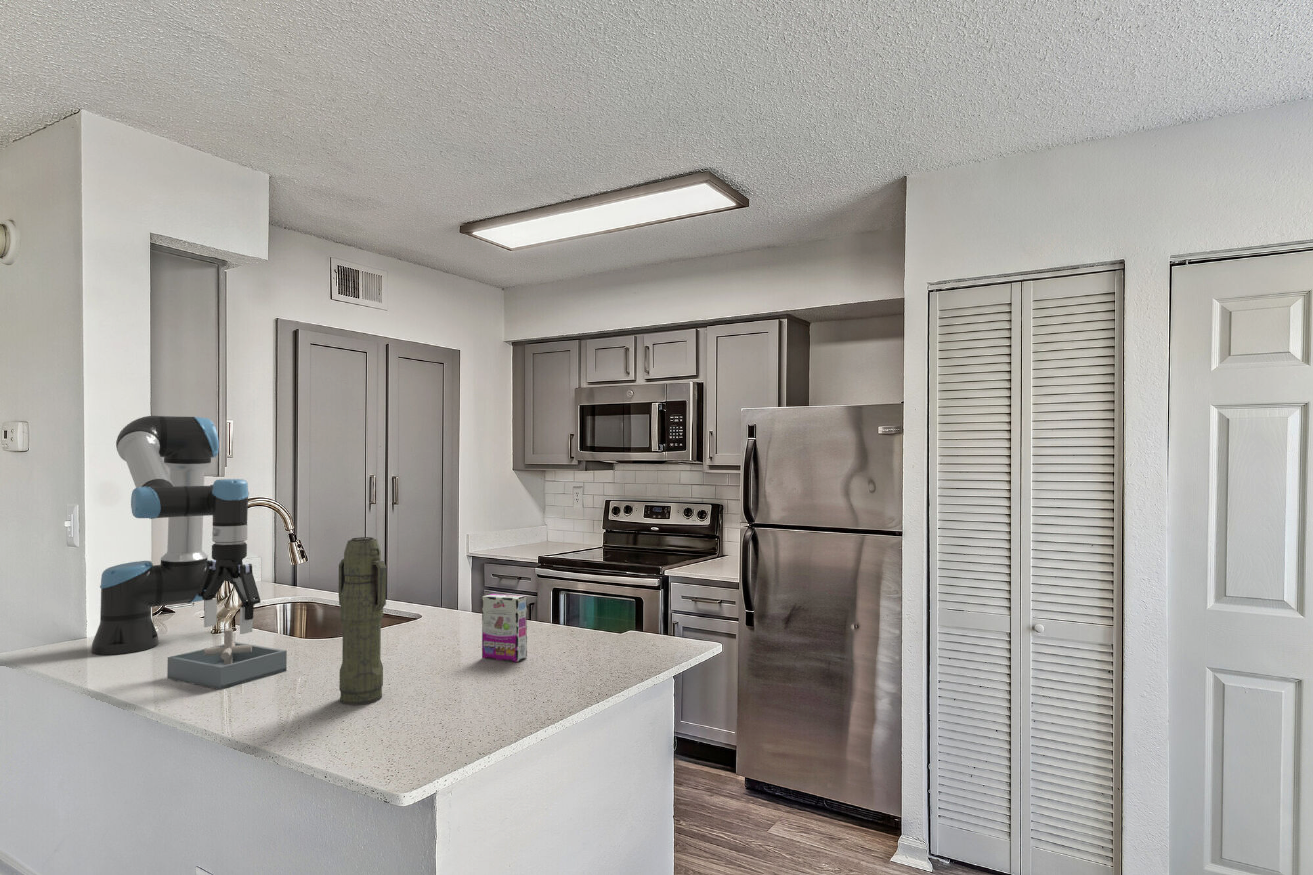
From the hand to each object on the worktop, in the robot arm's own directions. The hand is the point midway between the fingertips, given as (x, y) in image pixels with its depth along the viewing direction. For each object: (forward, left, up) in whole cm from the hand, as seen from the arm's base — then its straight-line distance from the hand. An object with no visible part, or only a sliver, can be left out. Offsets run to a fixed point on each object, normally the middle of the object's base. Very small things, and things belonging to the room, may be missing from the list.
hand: (227, 629), depth 187 cm
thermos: (+44, +1, -11) cm, 46 cm away
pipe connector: (0, 0, -10) cm, 10 cm away
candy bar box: (+51, +42, -11) cm, 67 cm away
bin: (0, 0, -11) cm, 11 cm away
